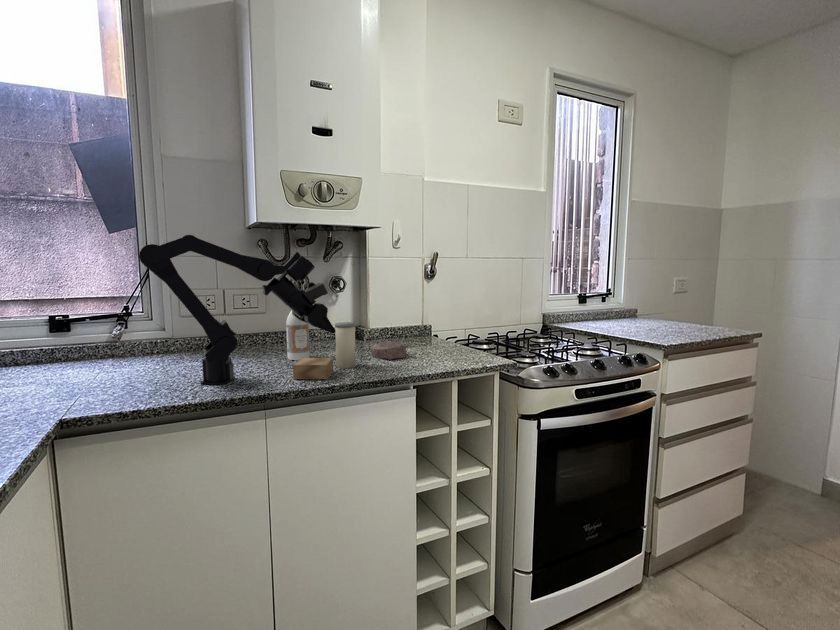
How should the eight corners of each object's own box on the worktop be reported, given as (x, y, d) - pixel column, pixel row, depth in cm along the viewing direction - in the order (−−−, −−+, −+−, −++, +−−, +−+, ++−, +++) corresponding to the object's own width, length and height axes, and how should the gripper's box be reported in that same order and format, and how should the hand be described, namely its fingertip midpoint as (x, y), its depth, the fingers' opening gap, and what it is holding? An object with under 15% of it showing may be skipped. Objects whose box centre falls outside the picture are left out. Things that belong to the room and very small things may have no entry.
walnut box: (293, 379, 117) (293, 365, 117) (302, 371, 126) (301, 357, 126) (327, 379, 117) (326, 365, 117) (333, 371, 126) (333, 357, 126)
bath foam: (291, 362, 138) (289, 298, 135) (284, 358, 143) (282, 297, 141) (312, 359, 141) (310, 297, 139) (305, 355, 147) (303, 296, 145)
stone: (366, 355, 148) (366, 342, 147) (388, 352, 154) (388, 339, 153) (386, 361, 139) (386, 347, 138) (408, 358, 144) (409, 344, 144)
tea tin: (334, 368, 130) (333, 325, 128) (337, 363, 136) (336, 322, 134) (354, 368, 130) (353, 325, 128) (357, 363, 136) (356, 322, 134)
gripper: (319, 274, 116) (359, 312, 123) (301, 272, 132) (337, 306, 139) (290, 305, 113) (332, 343, 120) (275, 299, 129) (313, 333, 136)
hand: (329, 330), depth 129 cm, fingers open, 9 cm apart
